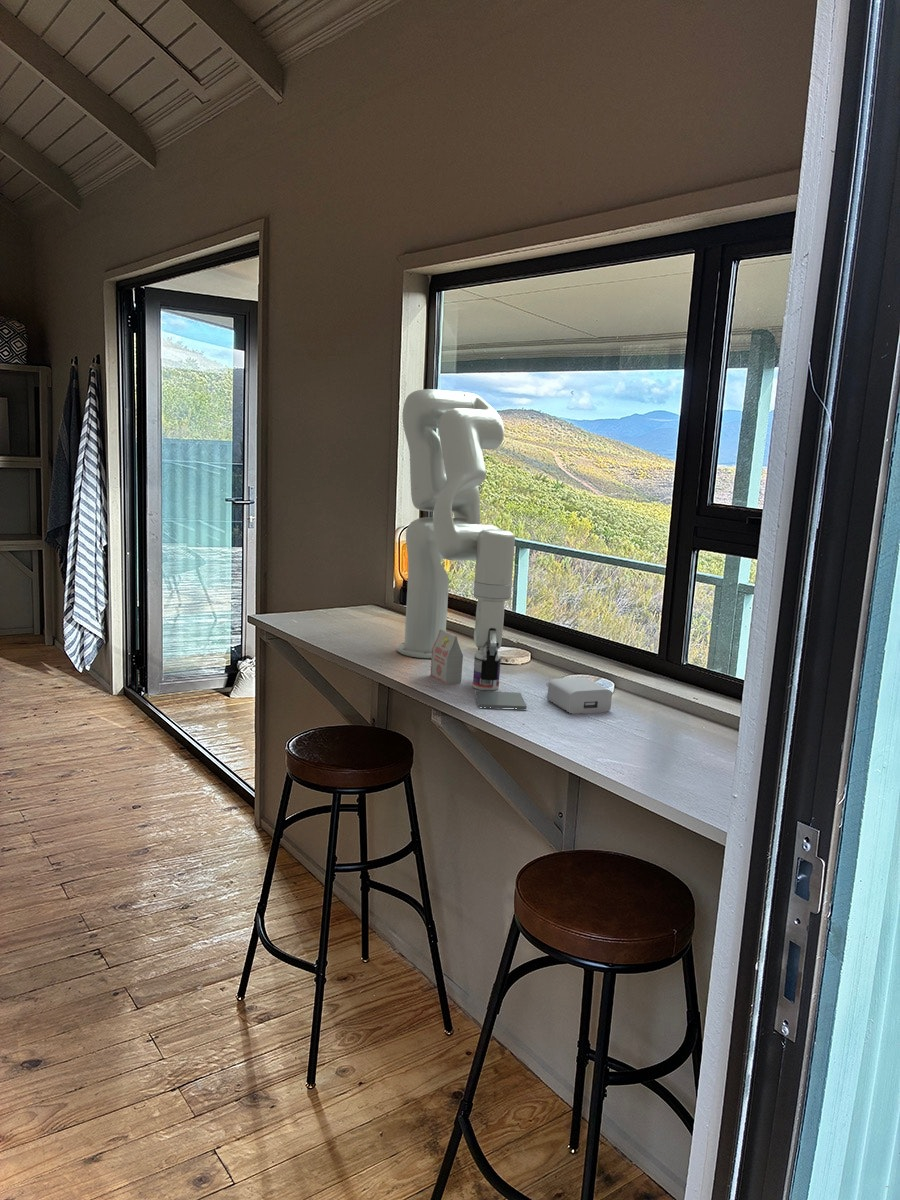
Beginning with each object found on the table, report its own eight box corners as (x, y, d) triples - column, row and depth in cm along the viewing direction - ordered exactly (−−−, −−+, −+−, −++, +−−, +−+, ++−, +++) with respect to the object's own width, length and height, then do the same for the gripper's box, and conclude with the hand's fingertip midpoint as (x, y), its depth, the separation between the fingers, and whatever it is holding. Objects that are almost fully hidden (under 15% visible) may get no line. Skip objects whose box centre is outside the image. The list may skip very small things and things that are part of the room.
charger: (571, 690, 190) (610, 712, 177) (532, 692, 187) (568, 715, 173) (573, 668, 189) (612, 689, 176) (534, 670, 186) (570, 691, 172)
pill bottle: (485, 682, 191) (488, 637, 190) (504, 688, 188) (507, 642, 186) (467, 686, 188) (470, 640, 186) (485, 692, 184) (488, 645, 182)
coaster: (475, 694, 182) (475, 690, 182) (520, 696, 183) (520, 692, 182) (479, 708, 173) (479, 704, 173) (526, 710, 174) (526, 706, 174)
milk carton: (445, 674, 196) (448, 628, 194) (461, 682, 190) (464, 636, 188) (430, 675, 194) (433, 629, 192) (445, 684, 188) (448, 637, 186)
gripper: (470, 582, 192) (465, 661, 195) (477, 598, 175) (471, 684, 178) (506, 584, 193) (500, 663, 196) (516, 600, 176) (509, 686, 179)
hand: (486, 673), depth 187 cm, fingers open, 9 cm apart
